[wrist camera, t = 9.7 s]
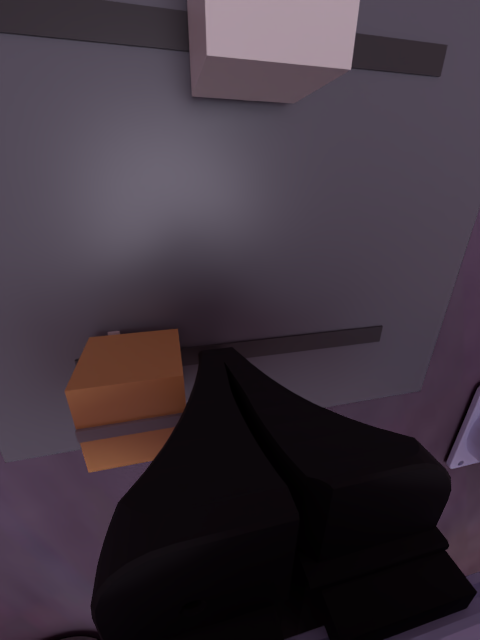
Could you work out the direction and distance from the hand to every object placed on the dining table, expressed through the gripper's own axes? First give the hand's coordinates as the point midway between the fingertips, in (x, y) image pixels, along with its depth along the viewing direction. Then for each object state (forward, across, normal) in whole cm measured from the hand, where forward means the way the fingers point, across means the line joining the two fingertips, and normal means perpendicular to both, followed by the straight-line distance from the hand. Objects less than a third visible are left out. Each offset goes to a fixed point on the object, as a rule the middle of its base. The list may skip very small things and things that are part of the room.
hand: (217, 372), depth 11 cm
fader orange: (+1, +3, 0) cm, 3 cm away
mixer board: (+3, -2, -5) cm, 6 cm away
